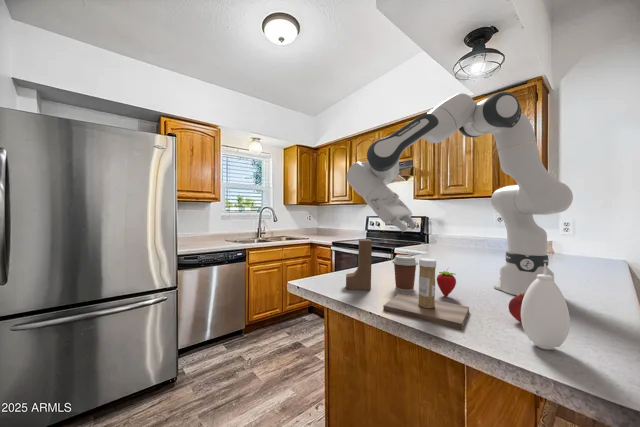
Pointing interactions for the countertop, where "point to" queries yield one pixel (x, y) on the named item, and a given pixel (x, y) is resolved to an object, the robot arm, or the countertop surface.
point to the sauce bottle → (545, 313)
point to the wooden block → (361, 268)
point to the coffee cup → (404, 272)
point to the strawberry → (446, 282)
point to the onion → (516, 306)
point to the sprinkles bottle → (427, 282)
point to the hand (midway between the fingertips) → (410, 229)
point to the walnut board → (428, 311)
